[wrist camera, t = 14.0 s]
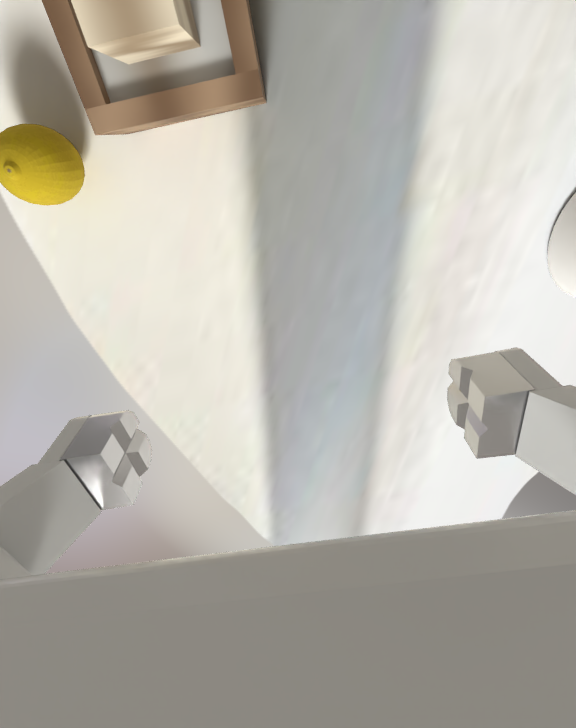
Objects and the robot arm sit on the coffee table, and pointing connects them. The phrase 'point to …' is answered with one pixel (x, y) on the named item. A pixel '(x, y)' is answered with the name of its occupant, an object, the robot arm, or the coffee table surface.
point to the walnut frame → (165, 71)
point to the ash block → (137, 27)
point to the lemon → (39, 165)
